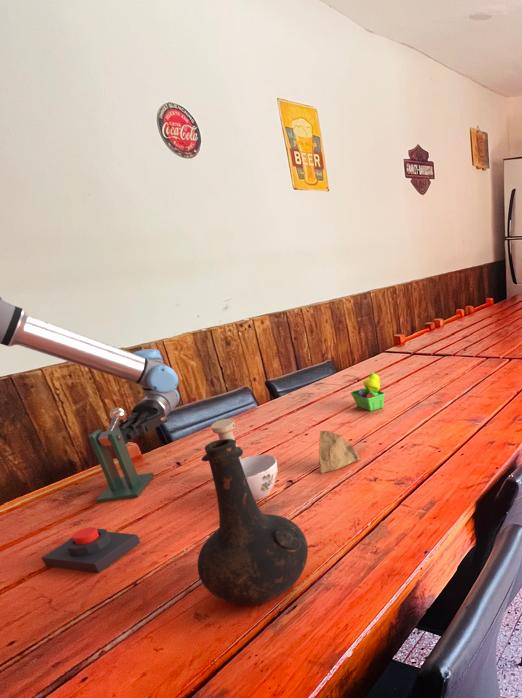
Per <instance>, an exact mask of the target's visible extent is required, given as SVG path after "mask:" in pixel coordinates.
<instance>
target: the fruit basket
mask: <svg viewBox="0 0 522 698" xmlns="http://www.w3.org/2000/svg"><path fill="white" fill-rule="evenodd" d="M363 386H364V387H362V388H360V389H357V390H353V391H350V395H351V397H352V398H353V400H354V402H355V404H356V407H359V408H361V409H364V410H366V411H368V412H373V411H376V410H379V409H383V408H384V401H385V396H386V392H383V391H382V390H380V387H381V384H380V377H379V375H378V373H376V372H371V373H370V374H369V376H368V377H367V378H366V379H365V380H364V381H363Z"/></svg>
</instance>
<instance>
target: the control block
mask: <svg viewBox="0 0 522 698" xmlns="http://www.w3.org/2000/svg"><path fill="white" fill-rule="evenodd" d="M96 529H97V532H98V534H99V538H97V539H96V540H94V541H92V542H90V543H87V544H83V545H76V544H75V542H74V540H73V538H72V537H70V538H68V540H67V541H65V542H64V543H62V544H61V545H59V546H57V547H56V548H54V549H53V550H51V551H49V552H48V553H46V554H45V555H43V556H41V561H42V562H43V564H44V566H45V567H47V568H54V569H55V568H56V569H62V570H71V571H79V572H86V573H88V572H89V573H94V574H95V573H96V574H100V573H101V572H103V571H104V570H105V569H107V568H108V567H110V566H111V565H112V564H114V563H115V562H116V561H118V560H120V558H122V557H124V556H125V555H126V554H128V553H129V552H131V551H132V550H133V549H135V548H136V547H137V546H138V545H140V544H141V541H140V539H139V535H138V534H134V533H126V532H125V533H124V532H114V531H108V530H107V529H106V528H96Z"/></svg>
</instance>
